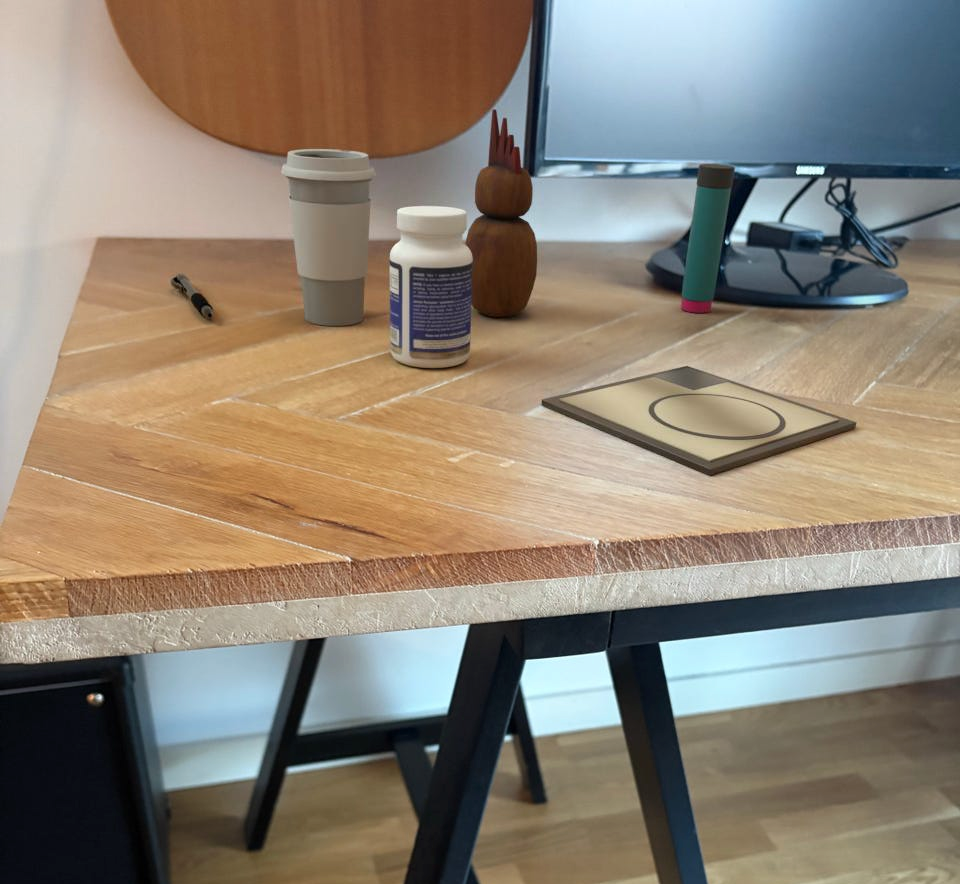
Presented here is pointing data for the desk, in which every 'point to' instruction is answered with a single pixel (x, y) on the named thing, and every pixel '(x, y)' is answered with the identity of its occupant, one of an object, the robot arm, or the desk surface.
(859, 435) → the desk surface
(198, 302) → the pen
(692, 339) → the desk surface
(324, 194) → the cup
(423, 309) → the pill bottle
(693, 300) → the dot marker
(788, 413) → the board
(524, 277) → the wooden figurine
